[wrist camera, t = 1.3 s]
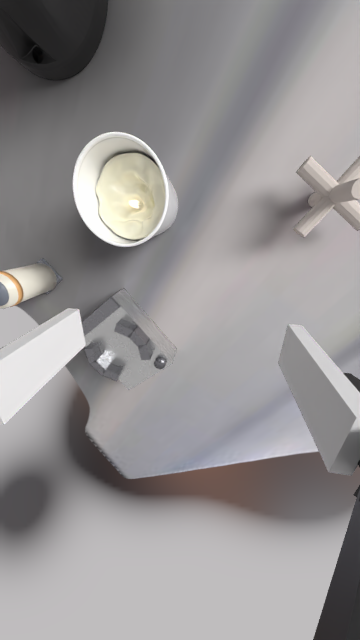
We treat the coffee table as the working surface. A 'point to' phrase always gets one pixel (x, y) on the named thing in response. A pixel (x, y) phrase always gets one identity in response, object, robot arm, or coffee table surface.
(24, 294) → the cream flashlight
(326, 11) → the coffee table surface
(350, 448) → the robot arm
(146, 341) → the cradle fixture plate
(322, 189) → the pipe connector
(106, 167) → the candle holder
